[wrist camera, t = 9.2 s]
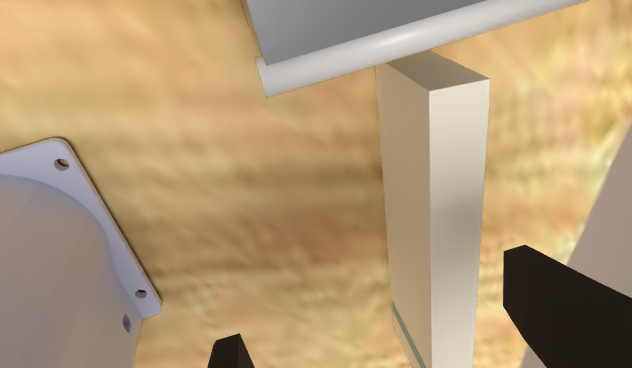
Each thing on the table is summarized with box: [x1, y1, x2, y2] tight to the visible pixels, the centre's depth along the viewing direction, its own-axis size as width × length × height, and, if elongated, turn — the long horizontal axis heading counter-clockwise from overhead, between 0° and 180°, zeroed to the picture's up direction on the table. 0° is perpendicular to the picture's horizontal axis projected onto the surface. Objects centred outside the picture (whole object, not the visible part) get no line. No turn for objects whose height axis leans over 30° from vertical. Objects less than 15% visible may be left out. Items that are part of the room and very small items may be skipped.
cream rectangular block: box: [375, 50, 490, 368], centre depth 20 cm, size 16×2×6 cm, turn 8°
